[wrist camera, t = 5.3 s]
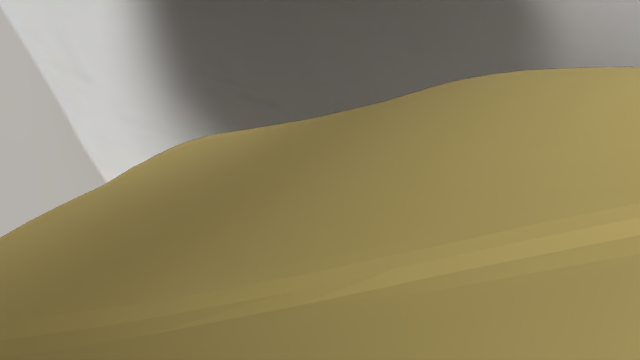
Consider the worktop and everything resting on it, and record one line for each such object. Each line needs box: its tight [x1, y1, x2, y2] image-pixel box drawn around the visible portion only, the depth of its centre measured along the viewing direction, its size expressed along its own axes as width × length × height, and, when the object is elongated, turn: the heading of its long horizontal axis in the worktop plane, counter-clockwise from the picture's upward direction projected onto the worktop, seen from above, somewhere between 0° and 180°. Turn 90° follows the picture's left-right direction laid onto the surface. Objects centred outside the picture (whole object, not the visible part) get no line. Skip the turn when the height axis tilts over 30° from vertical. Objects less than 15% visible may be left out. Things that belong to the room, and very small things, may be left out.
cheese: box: [0, 67, 640, 360], centre depth 8 cm, size 10×11×10 cm
